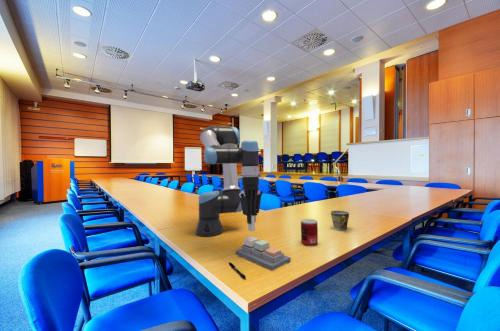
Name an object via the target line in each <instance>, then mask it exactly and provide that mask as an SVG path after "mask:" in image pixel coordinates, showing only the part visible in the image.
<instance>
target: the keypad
mask: <svg viewBox="0 0 500 331" xmlns="http://www.w3.org/2000/svg"><path fill="white" fill-rule="evenodd" d="M235 255H237V256H240V257H242V258H243V259H245V260H247V261H250V262H252V263H255V264H256V265H259V266H261V267H263V268H266V269H268V270H270V271H274V270H277V269H278V268H280V267H282V266H284V265H286V264H288V263H290V262H291V256H287V255H285V253H284V252H282V251H281V254H280V255H278V256H275V257H272V256H269V255H267V254H265V250H264V251H260V250H257V249H255V248H254V246H253V247H249V246H247V245H244V243H243V244H241V247H240V248H239V249H237V250H235Z"/></svg>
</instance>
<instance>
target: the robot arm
mask: <svg viewBox="0 0 500 331" xmlns="http://www.w3.org/2000/svg"><path fill="white" fill-rule="evenodd" d="M199 140H200V143H201V144H202V145H203V146H204V150H203V159H204V163H205V164H208V165H209V164H211V165H219V164H220V165H222V174H223V177H222V178H223V188H222V189H221V193H220V192H219V190H214V191H207V192H203V193H201V194H199V195H198V221H197V225H196V229H195V235H196V236H197V237H198V236H199V237H215V236H219V235H221V234H223V231H224V228H223V225H222V223H221V219H220V215H221V214H232V213H234V214H236V213H241V212H242V214H243V215H244V216H246V222H247V229H248V231H249V232H255V231H256V221H257V220H256V219H257V218H256V216H258V214H259V213H260V207H261V201H262V196H263V193H264V191H262V190H260V189H259V188H260V187H259V186H260V176H259V175H260V171H259V170H260V168H259V167H260V166H259V151H260V150H259V149H260V148H259V143H258V141H256V140H249V139H248V140H243V141H241V134H240V131H239V129H238V128H237V127H235V126H225V125H224V126H223V125H222V126H221V125H220V126H219V125H211V126H208V127H205V128H204V129H202V131H201V132H200V135H199ZM240 143H241V144H240ZM238 145H240V147H238ZM237 164H240V165H241V176H242V177H241V185H242V189H241V188H240V187H239V180H238V168H237V166H238V165H237Z"/></svg>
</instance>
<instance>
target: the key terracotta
mask: <svg viewBox="0 0 500 331" xmlns="http://www.w3.org/2000/svg"><path fill="white" fill-rule="evenodd" d="M281 252H282V250H281V249H280V248H276V247H269V249H266V250H265V254H267V255H269V256H272V257H275V256H278V255H280V254H281Z"/></svg>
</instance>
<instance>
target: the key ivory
mask: <svg viewBox="0 0 500 331" xmlns="http://www.w3.org/2000/svg"><path fill="white" fill-rule="evenodd" d="M259 240H260V239H259V238H257V237H254V236H251V235H250V236H249V237H246V238H244V240H243V244H244V245H247V246H249V247H253V246H254V242H256V241H259Z"/></svg>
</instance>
